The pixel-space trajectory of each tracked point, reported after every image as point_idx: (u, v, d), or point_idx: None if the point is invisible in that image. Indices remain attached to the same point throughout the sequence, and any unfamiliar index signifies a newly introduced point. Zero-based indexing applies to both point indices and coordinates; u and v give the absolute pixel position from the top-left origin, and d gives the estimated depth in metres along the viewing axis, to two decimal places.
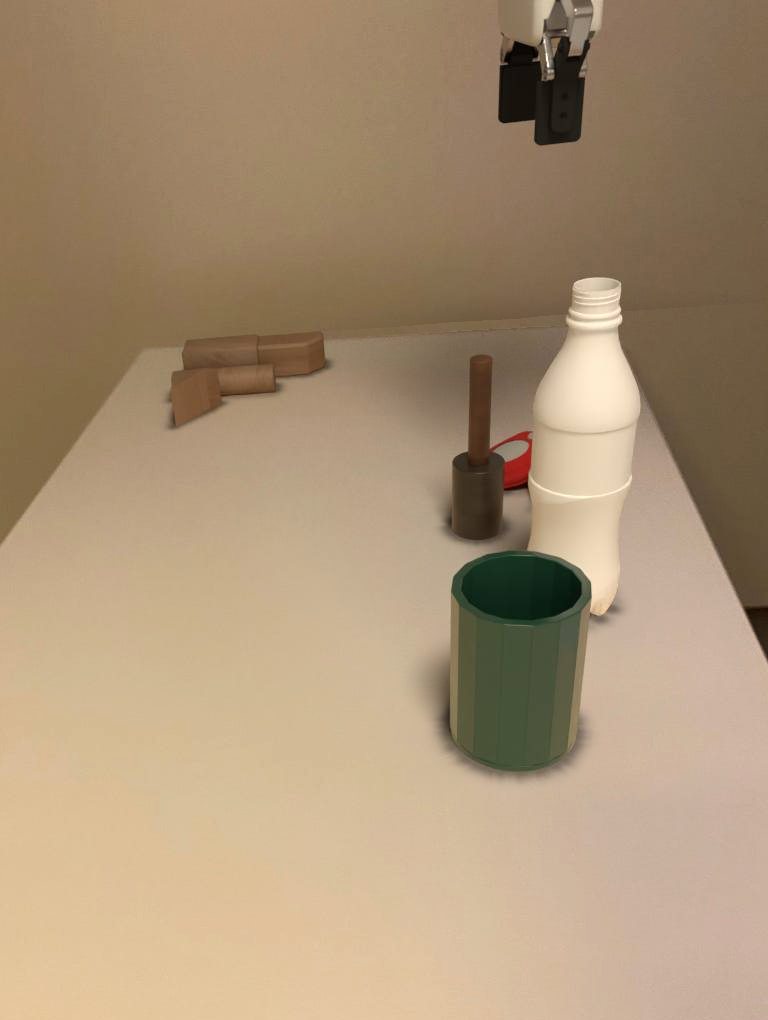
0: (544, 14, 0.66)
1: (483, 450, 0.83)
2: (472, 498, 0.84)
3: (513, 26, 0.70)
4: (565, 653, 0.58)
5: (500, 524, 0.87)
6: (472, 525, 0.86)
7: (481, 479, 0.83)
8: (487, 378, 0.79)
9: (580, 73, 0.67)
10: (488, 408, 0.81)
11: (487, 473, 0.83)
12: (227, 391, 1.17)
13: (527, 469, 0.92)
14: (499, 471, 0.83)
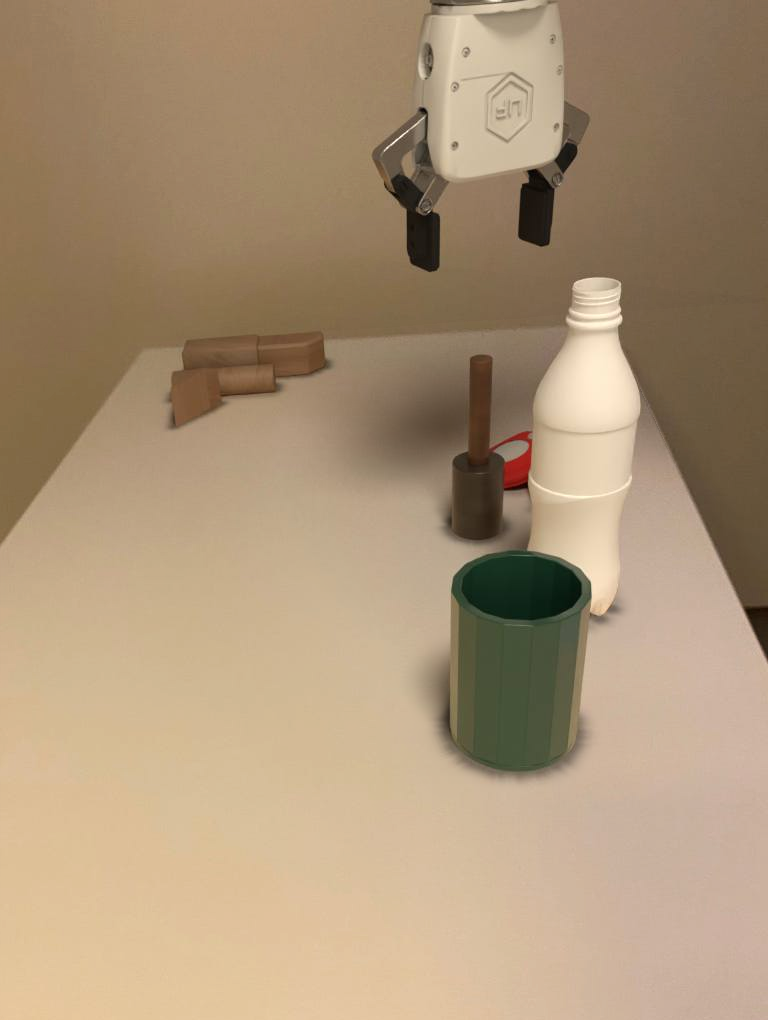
0: None
1: (483, 450, 0.83)
2: (472, 498, 0.84)
3: None
4: (565, 653, 0.58)
5: (500, 524, 0.87)
6: (472, 525, 0.86)
7: (481, 479, 0.83)
8: (487, 378, 0.79)
9: (416, 210, 0.69)
10: (488, 408, 0.81)
11: (487, 473, 0.83)
12: (227, 391, 1.17)
13: (527, 469, 0.92)
14: (499, 471, 0.83)
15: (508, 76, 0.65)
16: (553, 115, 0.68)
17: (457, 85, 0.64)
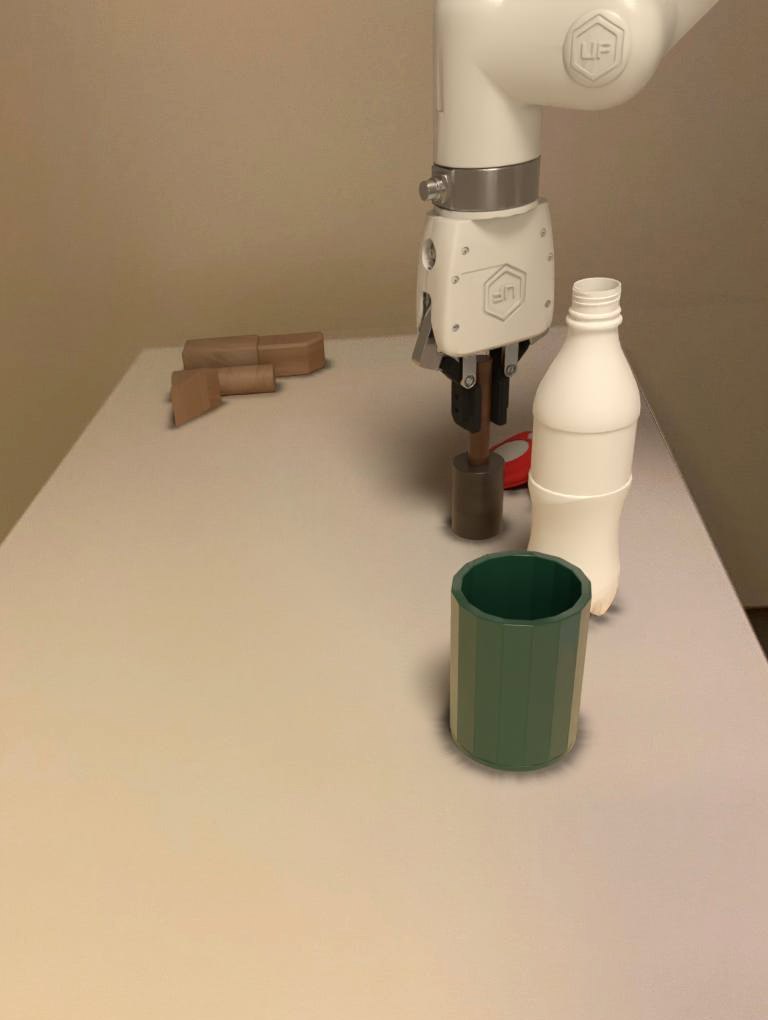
0: None
1: (483, 450, 0.83)
2: (472, 498, 0.84)
3: None
4: (565, 653, 0.58)
5: (500, 524, 0.87)
6: (472, 525, 0.86)
7: (481, 479, 0.83)
8: (487, 378, 0.79)
9: None
10: (488, 408, 0.81)
11: (486, 473, 0.83)
12: (227, 391, 1.17)
13: (527, 469, 0.92)
14: (499, 471, 0.83)
15: (503, 267, 0.72)
16: (545, 294, 0.75)
17: (457, 278, 0.72)
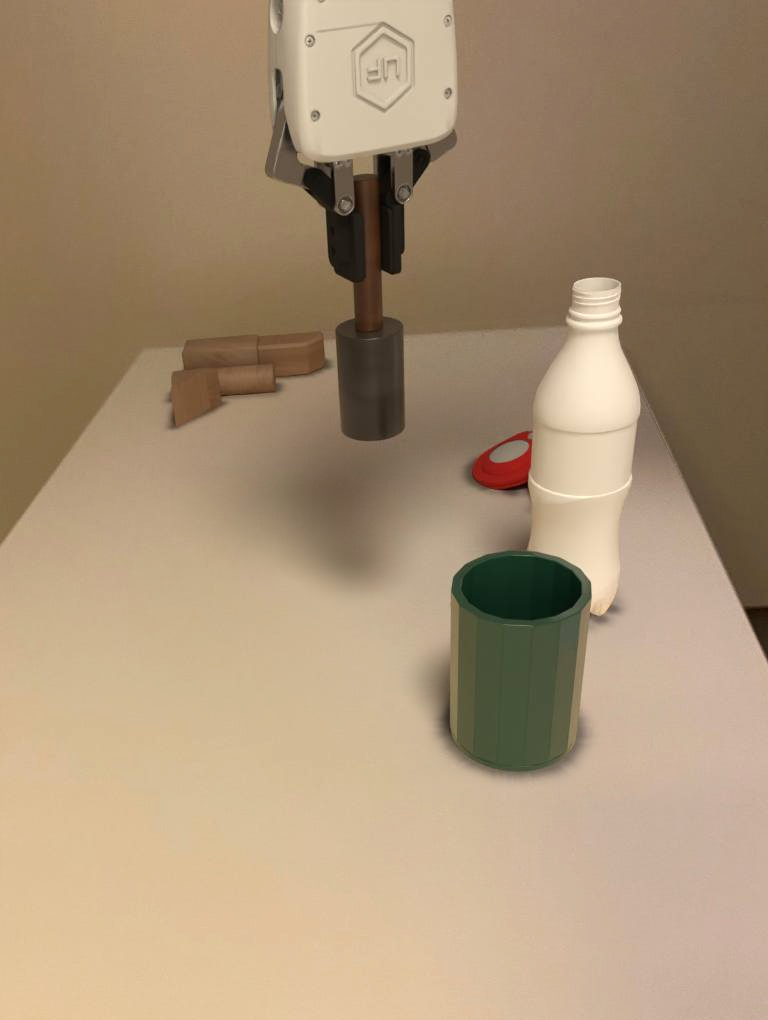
0: None
1: (373, 309, 0.63)
2: (360, 375, 0.64)
3: None
4: (565, 653, 0.58)
5: (401, 414, 0.67)
6: (362, 413, 0.66)
7: (370, 347, 0.63)
8: (372, 204, 0.59)
9: (339, 214, 0.58)
10: (376, 249, 0.61)
11: (376, 340, 0.63)
12: (227, 391, 1.17)
13: (527, 469, 0.92)
14: (394, 338, 0.63)
15: (379, 27, 0.52)
16: (443, 78, 0.55)
17: (313, 39, 0.51)
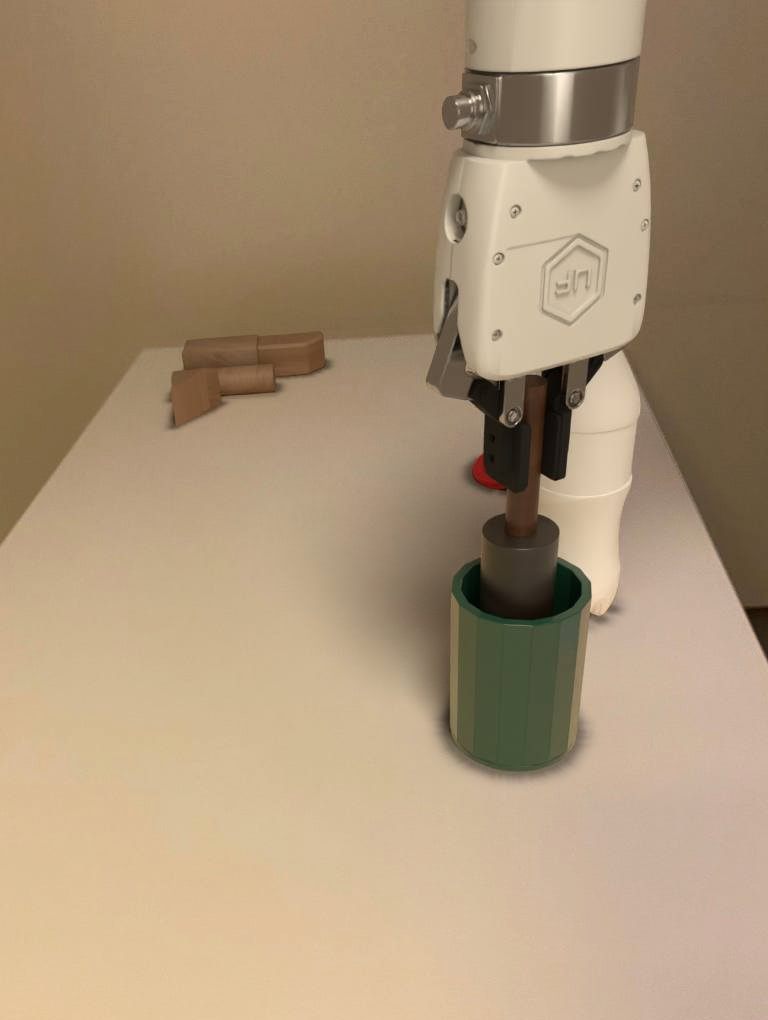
0: None
1: (529, 515, 0.56)
2: (512, 584, 0.57)
3: None
4: (565, 653, 0.58)
5: None
6: None
7: (526, 557, 0.56)
8: (539, 410, 0.53)
9: None
10: (539, 455, 0.54)
11: (534, 550, 0.56)
12: (227, 391, 1.17)
13: None
14: (553, 545, 0.56)
15: (573, 239, 0.46)
16: (634, 284, 0.49)
17: (501, 256, 0.45)
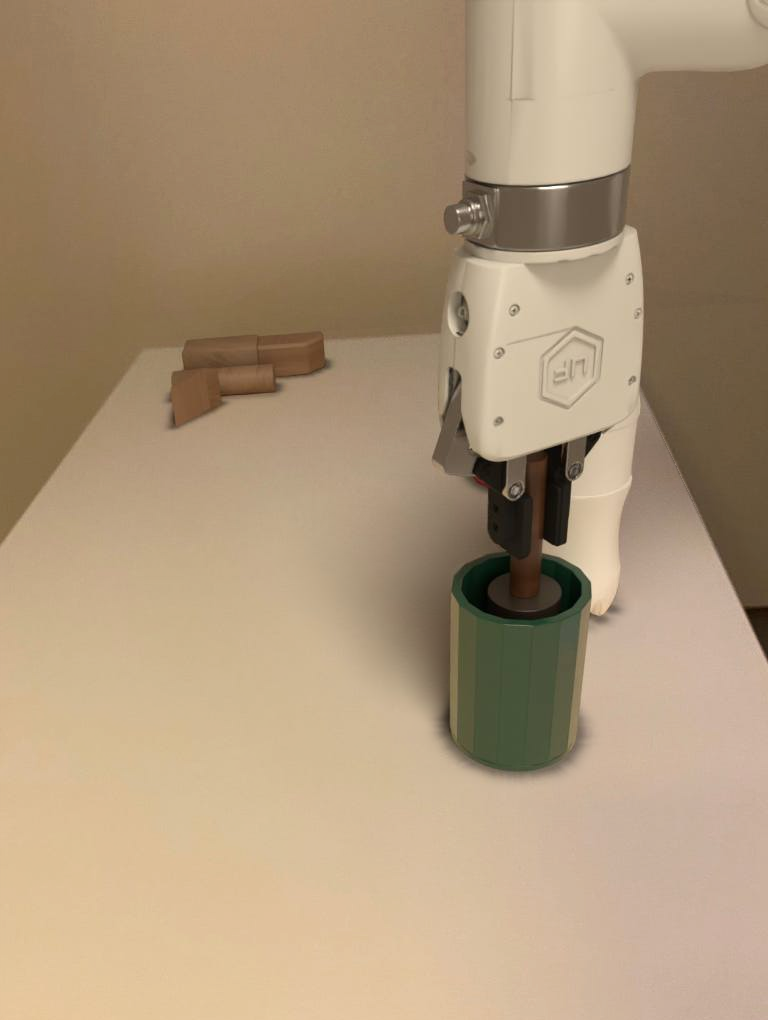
0: None
1: (532, 578, 0.59)
2: None
3: None
4: (565, 653, 0.58)
5: None
6: None
7: (530, 618, 0.59)
8: (540, 483, 0.55)
9: None
10: (541, 523, 0.57)
11: (537, 611, 0.58)
12: (227, 391, 1.17)
13: None
14: (555, 606, 0.59)
15: (570, 331, 0.48)
16: (628, 368, 0.51)
17: (502, 350, 0.47)
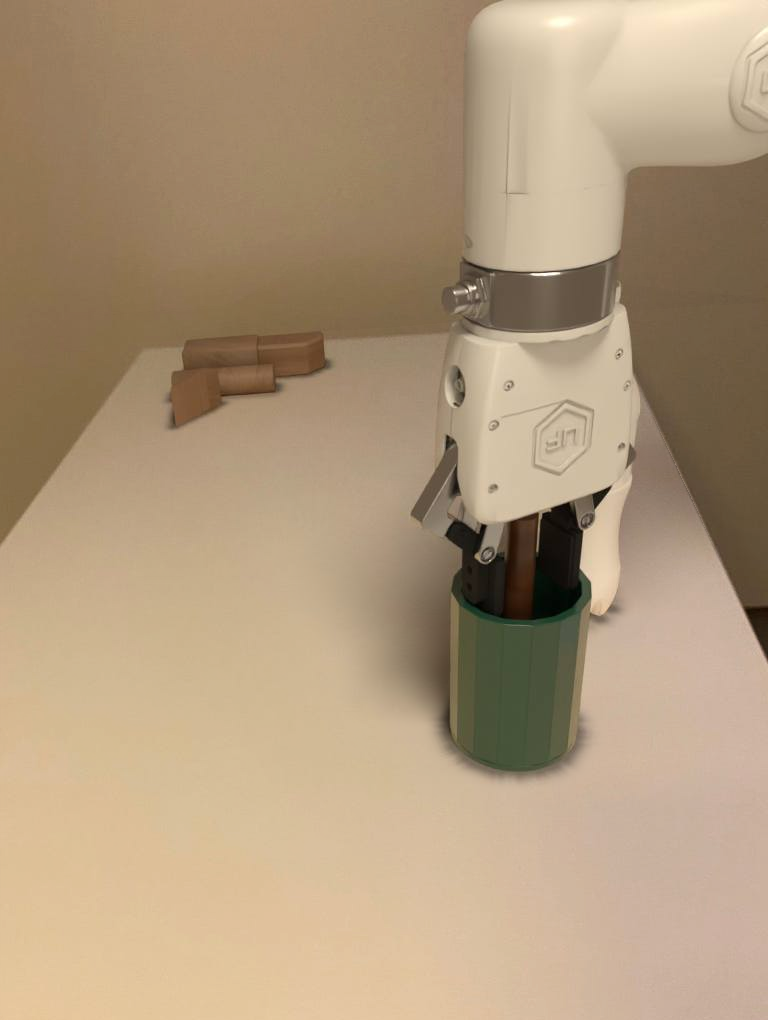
0: None
1: None
2: None
3: None
4: (565, 653, 0.58)
5: None
6: None
7: None
8: (531, 540, 0.57)
9: (478, 560, 0.56)
10: (531, 577, 0.59)
11: None
12: (227, 391, 1.17)
13: None
14: None
15: (562, 404, 0.50)
16: (618, 436, 0.53)
17: (496, 423, 0.49)
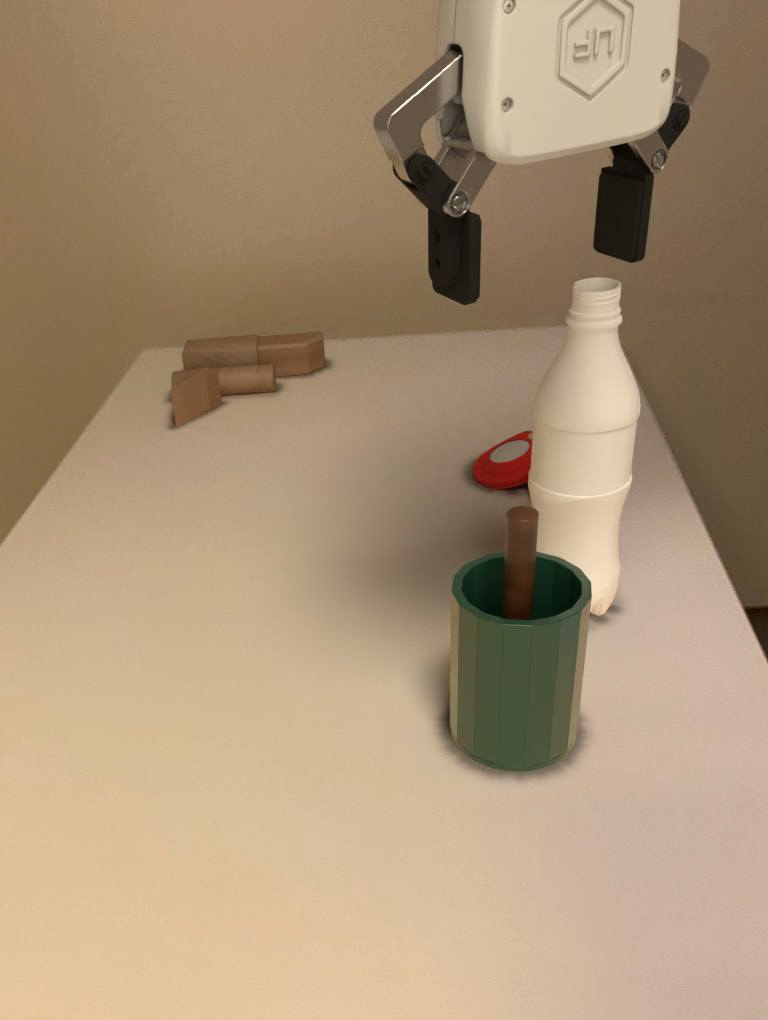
0: None
1: None
2: None
3: None
4: (565, 653, 0.58)
5: None
6: None
7: None
8: (531, 540, 0.57)
9: (444, 210, 0.44)
10: (531, 577, 0.59)
11: None
12: (227, 391, 1.17)
13: (528, 469, 0.92)
14: None
15: None
16: (662, 55, 0.43)
17: (512, 3, 0.39)
